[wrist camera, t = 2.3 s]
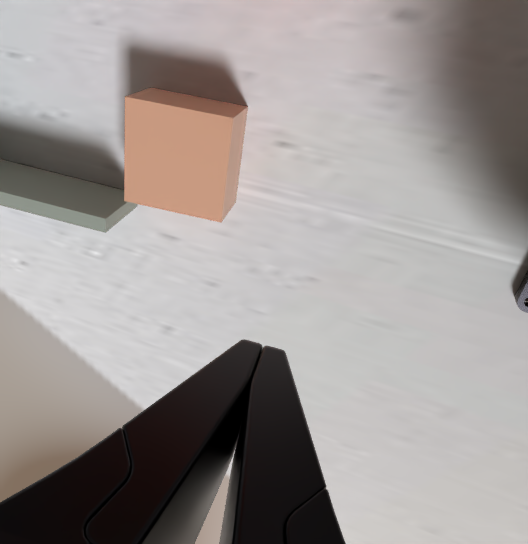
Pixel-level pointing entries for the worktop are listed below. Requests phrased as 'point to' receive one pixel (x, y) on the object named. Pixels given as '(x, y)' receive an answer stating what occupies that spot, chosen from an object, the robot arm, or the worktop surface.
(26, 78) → the worktop surface
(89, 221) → the tray
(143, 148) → the tile
